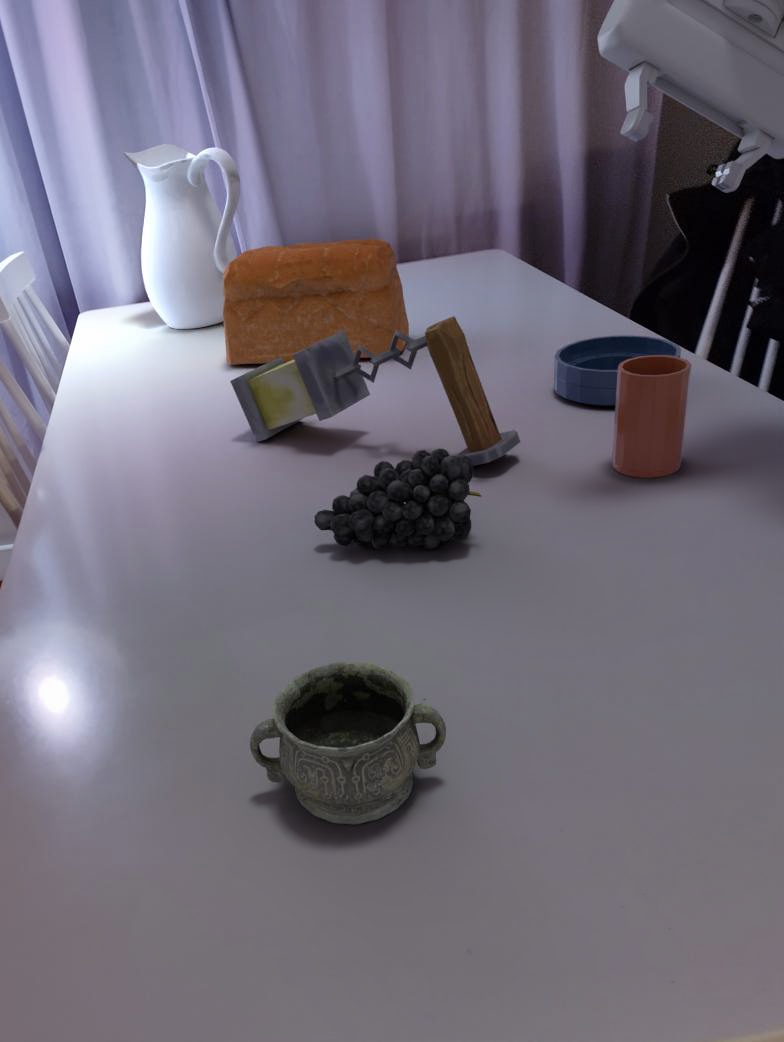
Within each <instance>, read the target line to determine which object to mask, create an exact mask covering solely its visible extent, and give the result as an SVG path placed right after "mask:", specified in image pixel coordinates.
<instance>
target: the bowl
mask: <svg viewBox="0 0 784 1042" xmlns="http://www.w3.org/2000/svg"><path fill="white" fill-rule="evenodd" d="M650 355H667V356H674V357H680V358H681V355H682V348H681V347H680V346H679V345H677V343H675V342H673V341H669V340H667V339H665V338H659V337H655V336H647V335H635V334H634V335H633V334H632V335H631V334H630V335H629V334H628V335H627V334H625V335H623V334H622V335H621V334H620V335H607V336H606V335H605V336H596V337H590V338H586V339H580V340H577V341H574V342H571V343H569V344H565V345H564V346H562V347H561V348H559V349H558V350H556V353H555V355H554V361H553V363H554V366H553V389H554V390H555V393H556V394H557V395H559V396H560V397H562V398H564V399H565V400H569V401H572V402H576V403H581V404H583V405H584V404H585V405H590V406H598V407H615V406H616V389H617V373H618V366H619V364H620V363H621V362H623V361H625V360H627V359H631V358H635V357H640V356H650Z"/></svg>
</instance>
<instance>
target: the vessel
mask: <svg viewBox="0 0 784 1042" xmlns="http://www.w3.org/2000/svg"><path fill="white" fill-rule="evenodd" d="M415 699H416V698H415V691H414V690H413V688H412V686H411V685H410V683H409V682H408V680H406V679H405V678H404V677H403V676H401V674H398V673H396V672H395V671H393V670H391V669H389V668H387V667H386V666H382V665H379V664H374V663H372V662H371V663H370V662H360V661H359V662H358V661H340V662H339V661H337V662H332V663H327V664H325V665H321V666H317V667H313V668H311V669H308V670H307V671H305V672H303V673H301V674H299V675H296V676H295V677H294V678H293V679H292V680H290V681H289V682H288V683H287V684H286V685H284V686H283V687H282V688H281V689H280V690H279V692H278V694H276V696H275V698H274V701H273V703H272V706H271V707H272V708H271V715H272V718H266V719H265V720H263V721H261V722H260V723H259V724H257V725H256V726H255V727H254V729H253V731H252V734H251V736H250V741H249V749H250V752H251V755H252V757H253V759H254V760H255V762H256V763H257V764H258V765H259V766H261V767H262V768H265V770H266V776H267V779H268V780H270V782H272V783H283V782H284V780H285V779H286V780H287V781H288V782H289V783H290V784H291V786H293V787H294V792H295V795H296V798H297V800H298V802H299V803H300V805H301V806H302V807H304V808H305V810H307V811H309V813H311V814H312V815H313V816H314V817H317V818H319V819H322V820H324V821H327V822H329V823H332V824H343V825H354V826H355V825H361V824H365V823H368V822H373V821H377V820H380V819H382V818H383V817H385V816H387V815H389V814H391V813H393V812H395V811H397V810H398V808H400V806H402V805H403V803H404V802H405V801H406V800H407V799H409V797H410V795H411V792H412V790H413V786H414V775H413V771H414V769H415V768H416V765H417V766H418V767H419V769H421V770H428V769H431V768H433V767H434V766H436V765H437V752H438V751H440V750H441V748H442V747H443V745H445V741H446V736H447V725H446V723H445V720H444V718H443V717H442V715H441V714H440V713H439V711H438V709H436V708H434V707H433V706H431V705H428V704H425V703H417V704H416V702H415V701H416V700H415ZM416 724H431V725H432V726H433V727H434V728H435V735H434V738H433V739H432V740H431V741H429V742H427V743H423V744H422V743H421V742H420V737H419V733H418V728H417V725H416ZM274 738H279V743H278V744H279V747H278V754H279V756H277V757H270V756H267V755H265V754H263V753H262V750H261V747H260V744H261V743H262V742H263V741H264V740H267V739H274Z"/></svg>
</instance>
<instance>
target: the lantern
mask: <svg viewBox="0 0 784 1042" xmlns="http://www.w3.org/2000/svg"><path fill="white" fill-rule="evenodd" d="M398 338H400V339H402V340H404V341H405V342H406V346H405V350H406V351H408V352H410V355H409V357H408V360H405V359H403V358H402V357H401V356H400V355H401V353H402V351H401V350H399V349H398V348H396V345H397V341H398ZM426 347H427V351H428V353H429V355H430V358H431V360H432V362H433V365H434V367H435V370H436V372H437V374H438V377H439V380H440V382H441V384H442V387H443V389H444V392H445V394H446V397H447V399H448V401H449V404H450V407H451V409H452V412H453V414H454V417H455V420H456V422H457V425H458V427H459V430H460V431H461V435H462V437H463V439H464V443H465V446H466V448H464V449H463V450H461V452H459V453H457V454H456V455H455V456H456V457H458V456H460V455H465V456H467V457H469V458H470V459H472V463H473V467H474V466H479V465H483V464H488V463H491V462H493V461H495V460H498V459H499V458H502V457H503V456H505V455H506V454H507V453H508V452H510V451H511V450H512V449H513V448H515V447H516V446H518V445H519V444H520V443H521V438H520V436H519V433H518V431H517V430H514V429H512V430H508V431H504V432H500V431H499V428H498V426H497V422H496V420H495V417H494V414H493V412H492V409H491V407H490V403H489V401H488V398H487V396H486V392H485V390H484V387H483V385H482V382H481V380H480V377H479V374H478V371H477V369H476V366H475V362H474V361H473V357H472V354H471V351H470V347H469V345H468V342H467V338H466V335H465V333H464V331H463V329H462V328H461V325H460V324H459V322H458V320H457V318H456V316H455V315H453V316H450V317H447V318H445V319H443V320H440V321H438V322H435V323H434V324H432V325H430V326H428V327H426V330H425V331H424V336H423V335H422V336H421V337H419V338H417V339H413V338H411V337H410V336H409V337H408V336H406V335H404V334H403V333H401V332H399V331H398V330H395V333H394V336H393V339H392V343H391V346H390V349H389V350H387V351H384V352H382V353H380V354H378V355H376V354H374V353H372V352H371V351H369V350H367V349H366V348H364V347H362V346H361V345H359V344H358V348H357V351H356V355H354V352H353V350H352V347H351V344H350V342H349V339H348V337H347V334H346V332H345V330H344V331H342V332H339V333H337V334H334V335H332V336H330V337H328V338H326V339H324V340H322V341H320V342H318V343H316V344H314V345H312V346H310V347H307V348H305V349H303V350H301V351H299V352H297V353H295V354H293V355H292V356H293V358H294V360H291V361H289V362H283V360H282V358H281V357H280V358H278V359H275V360H273V361H271V362H268V363H263V364H262V365H260V366H258V367H256V368H253V369H252V370H250V371H247V372H245V373H244V374H241V375H240V376H237V377H236V378H235V377H234V378H233V379H231V380H230V381H229V382H230V384H231V387H232V389H233V391H234V394H235V395H236V398H237V400H238V402H239V405H240V407H241V409H242V411H243V414H244V416H245V418H246V421H247V423H248V425H249V428H250V430H251V432H252V435H253V437H254V439H255V441H256V443H259V442H262V441H265V440H268V439H270V438H271V437H273V436H275V435H277V434H278V433H280V432H282V431H283V430H286V429H287V428H289V427H291V426H292V425H295V424H296V423H298V422H300V421H302V420H304V419H305V418H308V417H310V416H314V415H316V416H317V418H318V421H319V422H322V421H324V420H327V419H331V418H333V417H334V416H336V415H338V414H339V413H341V412H343V411H344V410H346V409H348V408H350V407H351V406H353V405H355V404H357V403H358V402H359V403H360V401H363V400H364V399H365V398H368V397H369V396H370V395H371V393H370V390H369V388H368V386H367V382H366V381H365V379H366V380H368V381H369V382H371V383H373V384H374V383H375V381H376V377H377V374H378V370H379V369H380V368H379V367H380V365H382V364H385V363H386V362H389V361H391V360H393V361H395V362H397V363H399V364H400V365H402V366H403V367H405V368H407V369H409V370H410V371H412V368H413V365H414V363H415V359H416V356H417V353H418V351H420V350H422V349H424V348H426ZM361 352H362V353H364V354H366V355H367V356H369V357H370V358H369V359H370V360H369V363H370V364H371V365H373V366H372V370H371V373H367V372H366V371H364V370H363V369H362V368H361V367H362V364H359V363H360V360H361V358H360V356H361Z"/></svg>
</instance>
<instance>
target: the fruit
mask: <svg viewBox="0 0 784 1042" xmlns="http://www.w3.org/2000/svg"><path fill="white" fill-rule="evenodd" d="M473 478H474V466H473V463H472V459H470V458H469V457H467V456H465V455H460V456H458V457H456V455H450V453H449V452H448V450H446V449H444V448H436V449H434V450H432V452H431V453H430V452H429V451H428V450H426V449H422V450H417V451H415V453H414V454H413V455H412V456H411V460H410V459H403V460H401V461H400V462H398V463H396V466H395V467H394V465H393V464H392V463H390V462H389V461H384V460H381V461H379V462H377V464H375V466H374V469H373V475H368V474H363V475H362V476H360V477H358V479H357V481H356V487H355V488H354V489H353V490H351V491H350V493H349V496H347V495H346V494H345V495H343V494H342V495H337V496H336V497H335V498H333V500H332V505H331V509H332V510H331V509H321V510H319V511H317V512H316V514H315V515H314V525H315V527H317V528H318V529H319V530H320V531H332V533H333V539H334V541H335V543H336V544H338V545H340V546H343V547H347V546H350V545H352V543H353V542H354V543H355V544H358V545H359V544H360V545H364V544H366V543H367V542H370V541H371V543H372V546H373V548H375V549H376V550H381V551H384V550H386V549H387V548H388V547H389V546H390V544H391V542H392V544H393V545H395V546H396V547H403V546H405V545H409V546H414V547H415V546H416V547H417V546H420V545H422V547H424V548H425V549H427V550H434V549H438V547H439V545H440V544H441V542H447V541H448V540H450V539H452V540H453V541H455V542H463V541H464V540H467V539H468V538H469V536H470V533H471V530H472V520H471V514H472V513H471V512H472V510H471V507H470V506H469V504H468V503H467V502H466V501H465V500H466V498H467V497H468V496H472V497H473V496H474V497H480V498H481V497H483V496H482V494H480V492H477V491H472V490H470V484H469V483H470V482H471V481H472V479H473Z"/></svg>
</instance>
